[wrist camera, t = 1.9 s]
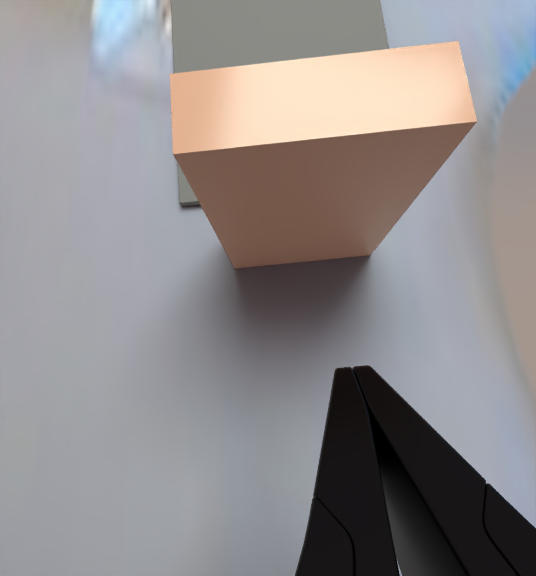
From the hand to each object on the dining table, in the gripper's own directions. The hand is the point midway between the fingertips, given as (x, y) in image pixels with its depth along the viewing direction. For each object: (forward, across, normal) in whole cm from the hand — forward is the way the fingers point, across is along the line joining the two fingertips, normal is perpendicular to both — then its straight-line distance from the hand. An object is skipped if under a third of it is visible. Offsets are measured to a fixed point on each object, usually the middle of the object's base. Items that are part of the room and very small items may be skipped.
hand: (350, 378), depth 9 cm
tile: (+13, 0, +3) cm, 14 cm away
